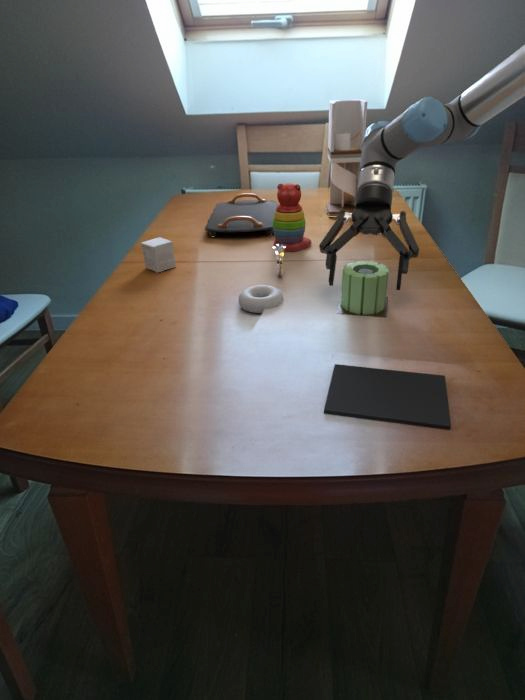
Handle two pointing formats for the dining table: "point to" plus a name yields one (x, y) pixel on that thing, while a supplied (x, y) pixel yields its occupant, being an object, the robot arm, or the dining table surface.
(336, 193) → the spiral ramp tower
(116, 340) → the dining table surface
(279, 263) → the ring
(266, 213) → the serving tray
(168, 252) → the product box
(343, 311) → the stacking stand
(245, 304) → the donut
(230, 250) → the dining table surface
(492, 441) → the dining table surface
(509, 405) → the dining table surface
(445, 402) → the rubber mat
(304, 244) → the stacking bear
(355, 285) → the sage ring
